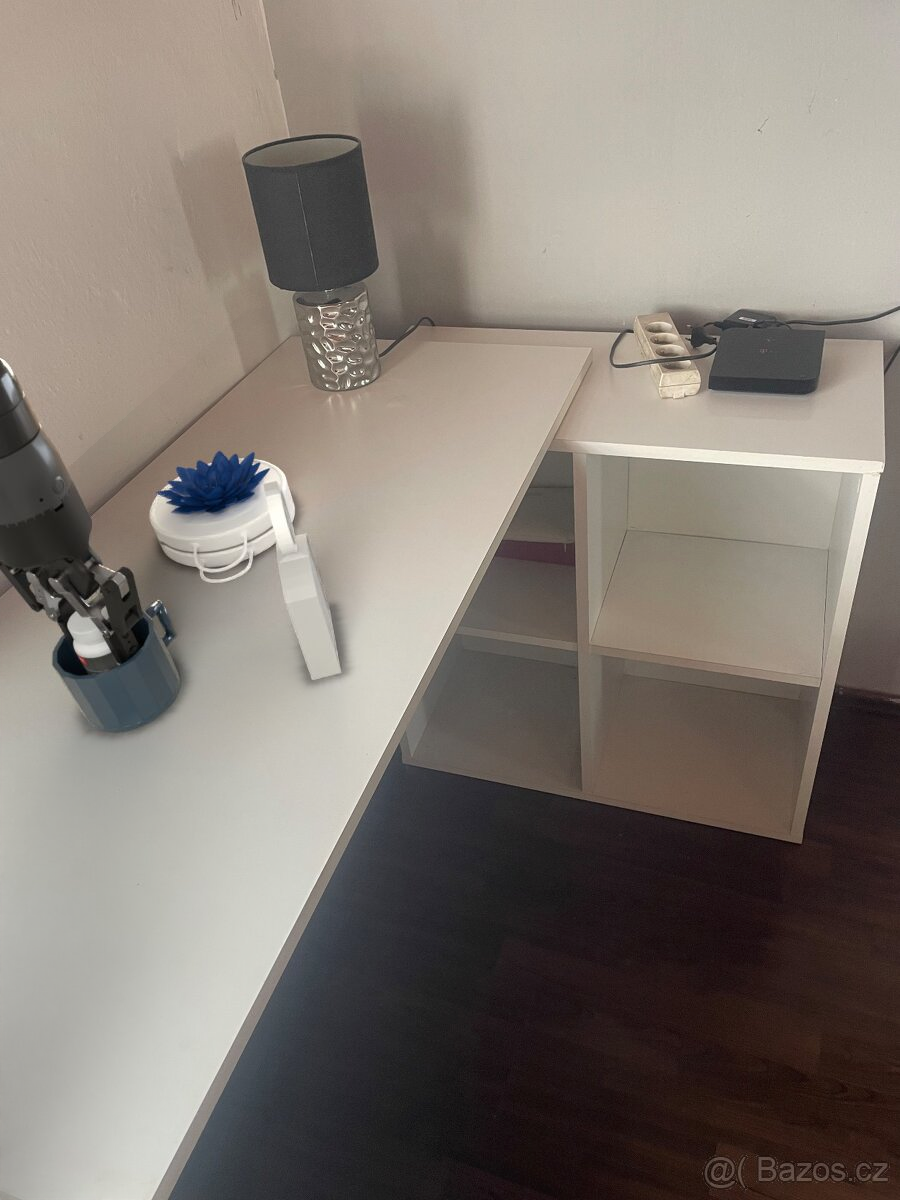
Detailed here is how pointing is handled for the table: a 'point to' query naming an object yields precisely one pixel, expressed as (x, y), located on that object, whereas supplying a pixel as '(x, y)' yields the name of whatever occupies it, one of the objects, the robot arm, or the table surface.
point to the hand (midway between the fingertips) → (107, 650)
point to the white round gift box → (218, 513)
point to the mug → (125, 678)
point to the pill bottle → (91, 644)
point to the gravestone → (303, 589)
